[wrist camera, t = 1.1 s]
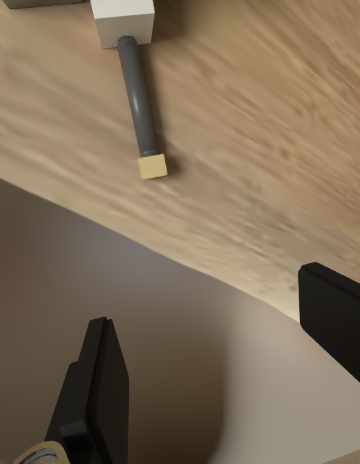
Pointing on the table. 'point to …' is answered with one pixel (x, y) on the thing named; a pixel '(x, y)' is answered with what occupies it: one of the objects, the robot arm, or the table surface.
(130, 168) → the table surface
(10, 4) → the block
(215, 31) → the table surface
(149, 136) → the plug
